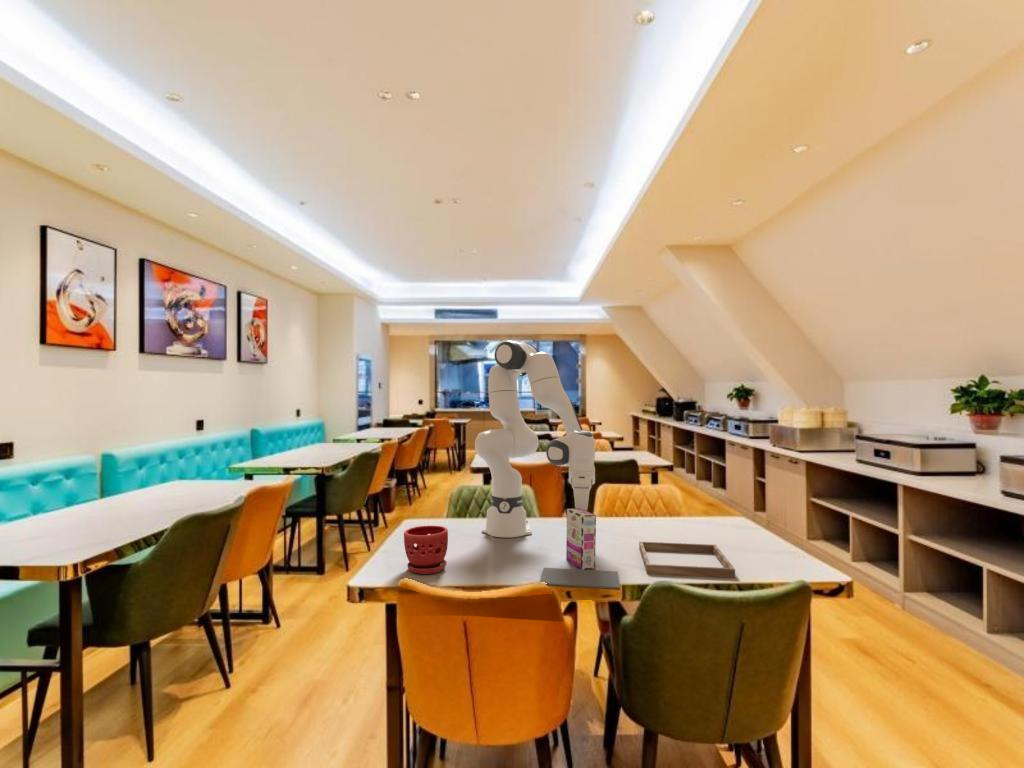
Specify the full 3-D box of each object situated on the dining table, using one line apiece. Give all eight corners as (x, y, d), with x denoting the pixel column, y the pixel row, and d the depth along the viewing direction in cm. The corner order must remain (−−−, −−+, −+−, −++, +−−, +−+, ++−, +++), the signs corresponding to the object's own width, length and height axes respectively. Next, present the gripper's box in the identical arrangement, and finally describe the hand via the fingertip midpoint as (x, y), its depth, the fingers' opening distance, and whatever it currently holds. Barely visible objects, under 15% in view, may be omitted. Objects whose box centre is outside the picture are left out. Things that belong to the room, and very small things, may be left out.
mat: (543, 569, 168) (543, 567, 168) (617, 573, 165) (617, 571, 165) (539, 584, 155) (539, 582, 155) (620, 589, 152) (620, 587, 152)
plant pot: (449, 562, 174) (449, 524, 174) (445, 576, 161) (445, 535, 161) (407, 562, 174) (407, 524, 174) (400, 577, 161) (400, 535, 161)
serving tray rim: (639, 548, 189) (639, 541, 189) (715, 552, 186) (715, 544, 186) (646, 573, 165) (646, 565, 165) (735, 578, 161) (735, 569, 161)
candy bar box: (596, 569, 168) (596, 514, 168) (581, 570, 167) (582, 516, 167) (579, 558, 179) (579, 507, 179) (565, 559, 177) (565, 508, 177)
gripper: (573, 472, 200) (573, 511, 200) (571, 482, 180) (571, 525, 180) (591, 473, 199) (590, 511, 199) (591, 483, 179) (591, 526, 179)
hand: (581, 518), depth 190 cm, fingers closed
